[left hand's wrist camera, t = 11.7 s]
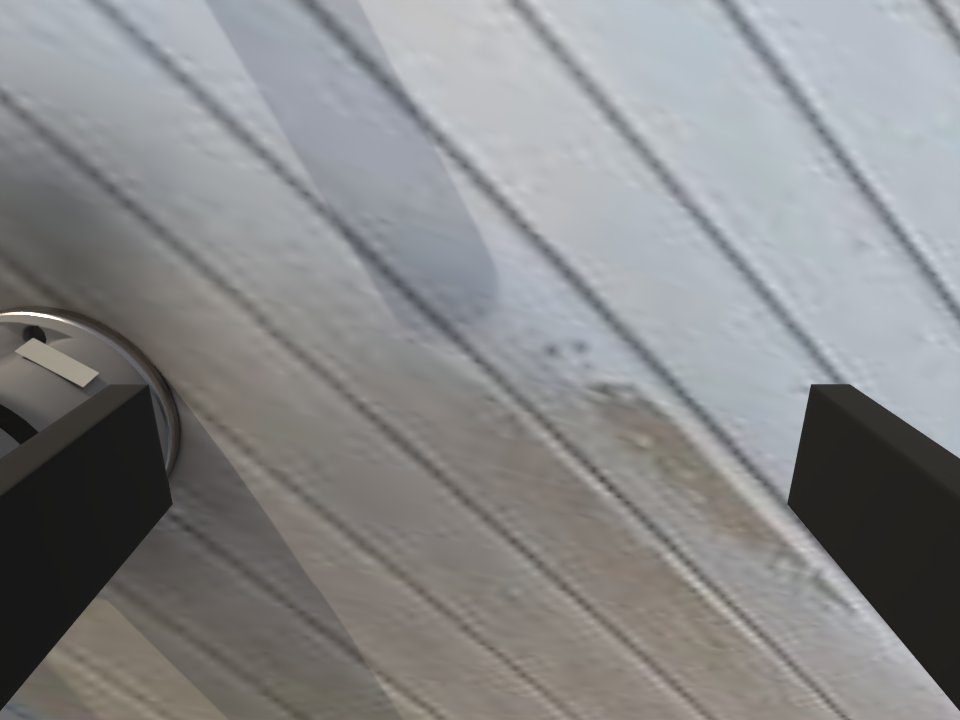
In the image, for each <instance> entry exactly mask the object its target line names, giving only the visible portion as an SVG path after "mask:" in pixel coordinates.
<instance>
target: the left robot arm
mask: <svg viewBox="0 0 960 720" xmlns="http://www.w3.org/2000/svg"><path fill="white" fill-rule="evenodd" d="M178 448H179V421H178V416H177V411H176V408H175V405H174V402H173V399H172V396H171V394H170V392H169V390H168V388H167V386H166V384H165V382H164V380H163V379H162V377H161V376H160V374H159V373H158V371H157V370H156V368H155V367H154V366H153V365H152V363H151V362H150V361H149V360H148V359H147V358H146V357H145V355H144V354H143V353H142V352H141V351H140V350H139V349H137V348H136V347H135V346H134V345H133V344H132V343H131V342H129V341H128V340H127V339H125V338H124V337H123V336H121V335H120V334H119V333H117V332H115V331H114V330H112V329H111V328H109V327H107V326H105V325H104V324H102V323H100V322H98V321H96V320H93V319H91V318H89V317H86V316H83V315H80V314H77V313H74V312H71V311H67V310H62V309H57V308H50V307H20V308H13V309H9V310H5V311H1V312H0V711H1V709H2V708H3V707H4V706H5V705H6V703H7V702H8V701H9V700H10V699H11V697H12V696H13V695H14V694H15V693H16V691H17V690H18V689H19V688H20V687H21V685H22V684H23V683H24V682H25V681H26V679H27V678H28V677H29V676H30V675H31V673H32V672H33V671H34V670H35V669H36V667H37V666H38V665H39V664H40V663H41V661H42V660H43V659H44V658H45V657H46V655H47V654H48V653H49V652H50V651H51V649H52V648H53V647H54V646H55V645H56V643H57V642H58V641H59V640H60V639H61V637H62V636H63V635H64V634H65V633H66V631H67V630H68V629H69V628H70V627H71V625H72V624H73V623H74V622H75V621H76V619H77V618H78V617H79V616H80V615H81V613H82V612H83V611H84V610H85V609H86V607H87V606H88V605H89V604H90V603H91V601H92V600H93V599H94V598H95V597H96V595H97V594H98V593H99V592H100V591H101V589H102V588H103V587H104V586H105V585H106V583H107V582H108V581H109V580H110V579H111V577H112V576H113V575H114V574H115V573H116V571H117V570H118V569H119V568H120V567H121V565H122V564H123V563H124V562H125V561H126V559H127V558H128V557H129V556H130V555H131V553H132V552H133V551H134V550H135V549H136V547H137V546H138V545H139V544H140V543H141V541H142V540H143V539H144V538H145V537H146V535H147V534H148V533H149V532H150V531H151V529H152V528H153V527H154V526H155V525H156V523H157V522H158V521H159V520H160V519H161V517H162V516H163V515H164V514H165V513H166V511H167V510H168V509H169V508H170V507H171V505H172V499H171V493H170V488H169V483H168V478H167V477H168V476H169V474H170V472H171V470H172V468H173V466H174V463H175V460H176V457H177V453H178ZM788 505H789V507H790V508H791V509H792V510H793V511H794V513H795V514H796V515H797V516H798V517H799V519H800V520H801V521H802V522H803V523H804V525H805V526H806V527H807V528H808V529H809V531H810V532H811V533H812V534H813V535H814V537H815V538H816V539H817V540H818V541H819V543H820V544H821V545H822V546H823V547H824V549H825V550H826V551H827V552H828V553H829V555H830V556H831V557H832V558H833V559H834V561H835V562H836V563H837V564H838V565H839V567H840V568H841V569H842V570H843V571H844V573H845V574H846V575H847V576H848V577H849V579H850V580H851V581H852V582H853V583H854V585H855V586H856V587H857V588H858V589H859V591H860V592H861V593H862V594H863V595H864V597H865V598H866V599H867V600H868V601H869V603H870V604H871V605H872V606H873V607H874V609H875V610H876V611H877V612H878V613H879V615H880V616H881V617H882V618H883V619H884V621H885V622H886V623H887V624H888V625H889V627H890V628H891V629H892V630H893V631H894V633H895V634H896V635H897V636H898V637H899V639H900V640H901V641H902V642H903V643H904V645H905V646H906V647H907V648H908V649H909V651H910V652H911V653H912V654H913V655H914V657H915V658H916V659H917V660H918V661H919V663H920V664H921V665H922V666H923V667H924V669H925V670H926V671H927V672H928V673H929V675H930V676H931V677H932V678H933V679H934V681H935V682H936V683H937V684H938V685H939V687H940V688H941V689H942V690H943V691H944V693H945V694H946V695H947V696H948V697H949V699H950V700H951V701H952V702H953V703H954V705H955V706H956V707H957V708H958V709H959V711H960V458H958V457H957V456H955V455H954V454H952V453H951V452H949V451H948V450H946V449H945V448H943V447H942V446H940V445H939V444H937V443H936V442H934V441H933V440H931V439H930V438H928V437H927V436H925V435H924V434H923V433H921V432H920V431H918V430H917V429H915V428H914V427H912V426H911V425H909V424H908V423H906V422H905V421H903V420H902V419H900V418H899V417H897V416H896V415H894V414H893V413H891V412H890V411H888V410H887V409H885V408H884V407H882V406H881V405H880V404H878V403H877V402H875V401H874V400H872V399H871V398H869V397H868V396H866V395H865V394H863V393H862V392H860V391H859V390H857V389H856V388H854V387H853V386H851V385H850V384H811V388H810V393H809V398H808V403H807V408H806V413H805V418H804V423H803V428H802V433H801V438H800V443H799V448H798V453H797V458H796V463H795V468H794V473H793V478H792V483H791V488H790V493H789V499H788Z"/></svg>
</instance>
